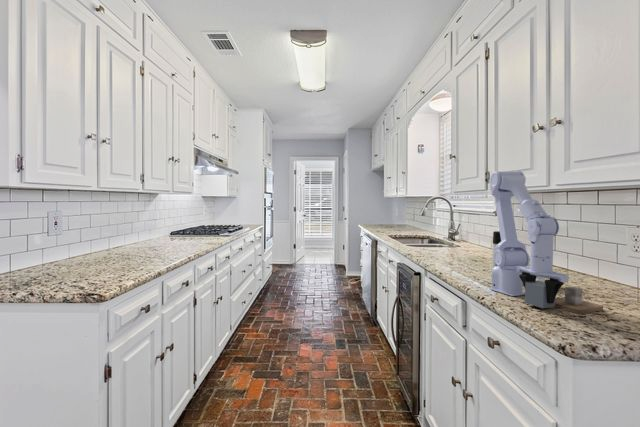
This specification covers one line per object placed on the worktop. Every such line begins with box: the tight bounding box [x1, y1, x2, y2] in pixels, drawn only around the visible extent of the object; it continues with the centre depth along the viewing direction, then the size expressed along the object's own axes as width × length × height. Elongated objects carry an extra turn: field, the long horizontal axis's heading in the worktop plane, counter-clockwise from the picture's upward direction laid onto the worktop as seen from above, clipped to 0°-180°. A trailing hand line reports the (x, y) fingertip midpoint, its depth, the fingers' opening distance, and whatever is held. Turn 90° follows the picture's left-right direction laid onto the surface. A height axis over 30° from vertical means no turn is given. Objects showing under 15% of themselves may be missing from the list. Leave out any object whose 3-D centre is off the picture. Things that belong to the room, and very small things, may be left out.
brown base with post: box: [553, 285, 604, 315], centre depth 98 cm, size 10×11×6 cm
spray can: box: [491, 230, 512, 271], centre depth 134 cm, size 7×7×20 cm
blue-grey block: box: [524, 279, 557, 309], centre depth 98 cm, size 6×6×7 cm
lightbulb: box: [536, 276, 546, 282], centre depth 125 cm, size 6×6×11 cm
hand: (540, 299), depth 98 cm, fingers closed on blue-grey block, 6 cm apart
